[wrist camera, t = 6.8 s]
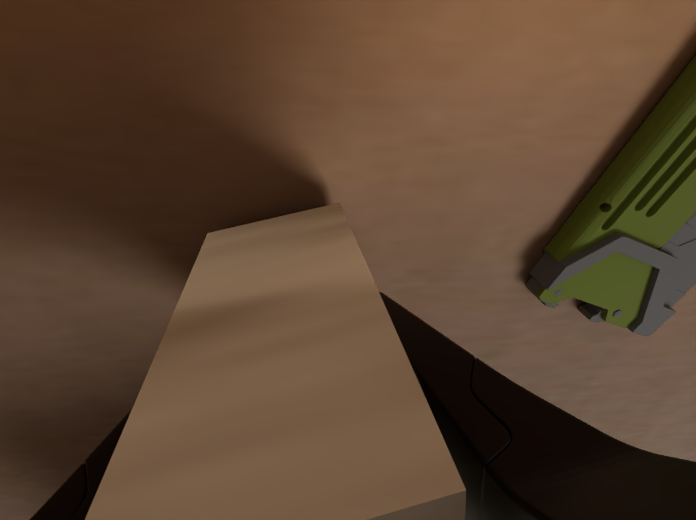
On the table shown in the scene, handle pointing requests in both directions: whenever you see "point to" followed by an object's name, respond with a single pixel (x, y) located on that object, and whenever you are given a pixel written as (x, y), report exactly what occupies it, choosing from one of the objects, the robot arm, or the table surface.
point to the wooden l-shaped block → (281, 393)
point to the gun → (633, 225)
